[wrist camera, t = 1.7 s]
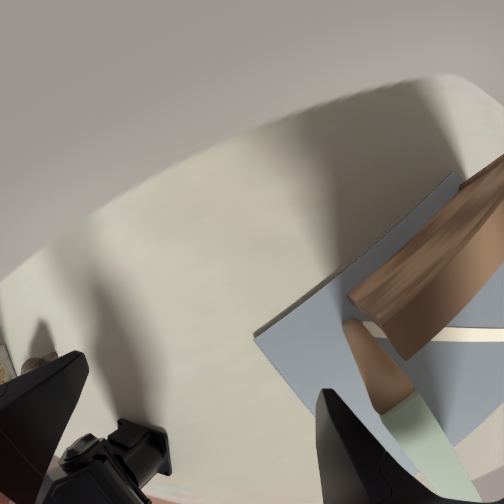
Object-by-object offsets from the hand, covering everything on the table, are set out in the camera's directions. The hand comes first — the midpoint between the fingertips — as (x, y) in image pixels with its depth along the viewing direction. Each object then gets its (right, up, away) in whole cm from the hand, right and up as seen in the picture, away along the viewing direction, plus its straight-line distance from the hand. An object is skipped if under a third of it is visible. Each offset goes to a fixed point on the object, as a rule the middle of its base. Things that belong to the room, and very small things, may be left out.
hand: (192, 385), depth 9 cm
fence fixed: (+16, +6, +11) cm, 20 cm away
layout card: (+18, -4, +10) cm, 21 cm away
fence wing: (+15, -8, +10) cm, 20 cm away
